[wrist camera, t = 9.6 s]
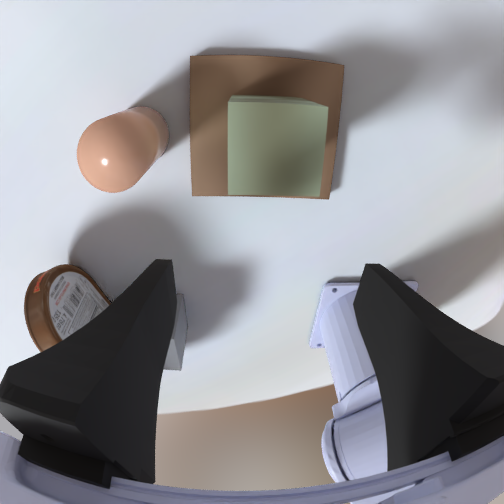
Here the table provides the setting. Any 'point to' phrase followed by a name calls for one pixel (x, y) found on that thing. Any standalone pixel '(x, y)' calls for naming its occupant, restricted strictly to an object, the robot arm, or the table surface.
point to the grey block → (177, 337)
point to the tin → (61, 304)
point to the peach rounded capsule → (122, 148)
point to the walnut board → (253, 83)
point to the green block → (275, 145)
